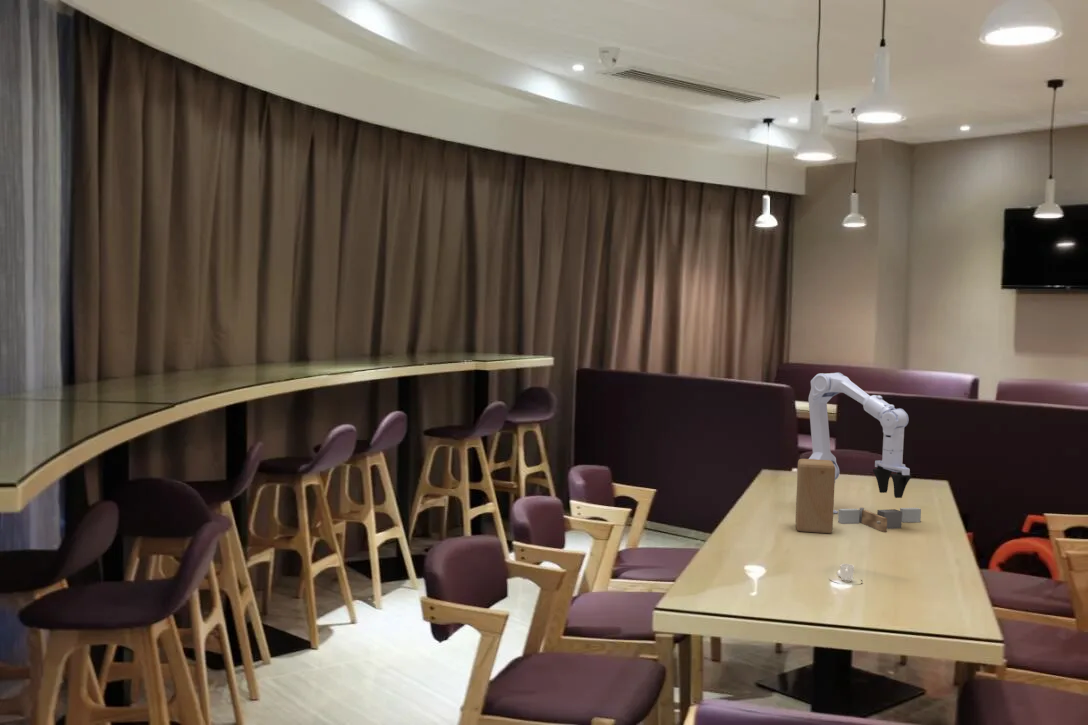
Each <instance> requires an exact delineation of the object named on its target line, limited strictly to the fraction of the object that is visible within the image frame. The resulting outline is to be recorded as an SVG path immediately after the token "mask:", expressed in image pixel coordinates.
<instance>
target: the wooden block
mask: <svg viewBox="0 0 1088 725" xmlns="http://www.w3.org/2000/svg"><path fill="white" fill-rule="evenodd" d="M796 474H797V476H796V496H795V497H796V499H795V500H796V501H795V521H794V522H795V527H796V530H797V531H798V532H801V533H813V534H814V533H817V534H818V533H819V534H832V532H833V529H834V528H833V526H834V513H833V509H834V508H835V507H834V505H835V503H834V501H835V485H836V480H835V466H834V464H833V462H832V461H830V460H817V459H809V458H800V459H798V461H797V473H796Z"/></svg>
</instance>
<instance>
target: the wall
mask: <svg viewBox="0 0 1088 725" xmlns="http://www.w3.org/2000/svg"><path fill="white" fill-rule="evenodd" d="M862 510H865V508H864V507H859V509H858V508H839V509H838V513H837V515H838V516H837V517H838V518H837V519H838V520H837V522H838V523H840V525H841V524H844V525H845V524H862ZM899 511H902V523H921V520H922V519H921V518H922V516H921V515H922V508H918V507H899ZM859 522H860V523H859Z"/></svg>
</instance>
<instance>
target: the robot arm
mask: <svg viewBox="0 0 1088 725" xmlns="http://www.w3.org/2000/svg"><path fill="white" fill-rule="evenodd" d="M840 393H843V394H845V395H846V396H847V397H850V398H852V399H853V400H855V401H857V402H858V403H860V404H861V405H862V406H863V407H862V408H863V411H865V412H866V413H868V414H869V415H870V416H872V417H873V418H874V419H876V420H878V421H879V422H880V426H881V427H882V433H883V435H882V436H883V439H882V455H881V456H882V457H881V458H882V459H881V460H878V459H877V460H875V461H874V468H872V473H873V474H874V476H875V478H876V482H877V486H878V490H879V493H881V494H883V493H884V494H885V493H886V494H887V493H888V489H889V483H890V482H889V481H890V477H891V479H892V483H893V496H894V498H895V499H902V498H903V496H904V492H905V489H906V486H907V485H908V483H909V481H910V480H911V479H912V475H911V472H910V471H911V470H910V468H909V467H907V466H906V464H904V463H903V457H904V456H903V455H904V441H905V440H904V439H905V427H907V426H908V424H909V415H908V413H907V412H906V411H905V410H904V409H903V408H895V405H894V404H890V403H888V402H887V401H885V400H884V399H883V396H882V395H879V394H878V395H876V394H872V395H870V394H868V393H867V392H866V391H864V390H863V389H862V388H860V387H859V386H858V385H857V384H856V383H854V382H853V381H851V380H850V378H849V377H848V376H846V375H844V374H843V373H841V372H830V373H823V372H822V373H817V374H816V375H814V377H813V378H812V379H811V380H810V391H809V395H808V409H809V410H808V411H809V422H810V423H809V424H810V434H811V447H812V453H811V454H810V456H809V458H808V459H817V460H830V461H832V462H833V464H834V466H835V481H836V480H837V479H839V476H840V472H841V471H840V467H839V465H838V463H837V458H836V456H835V455H834V454H833V453H832V452H831V441H830V440H831V439H830V429H829V428H830V427H829V414H828V406H827V404H828V403H829V401H830V400H831V399H832V398H833V397H834V396H837V395H838V394H840ZM893 472H894V473H893ZM833 514H839V510H836V509H834V508H833Z"/></svg>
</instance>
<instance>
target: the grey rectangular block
mask: <svg viewBox="0 0 1088 725" xmlns="http://www.w3.org/2000/svg"><path fill="white" fill-rule="evenodd" d="M876 512H877V513H876V514H877V515H880V516H882V517H885V518H887V530H888V529H891V530H892V529H902V525H903V524H902V523H903V522H902V511H900V509H899V510H898V509H895V508H893V509H892V508H891V509H877V511H876Z"/></svg>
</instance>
